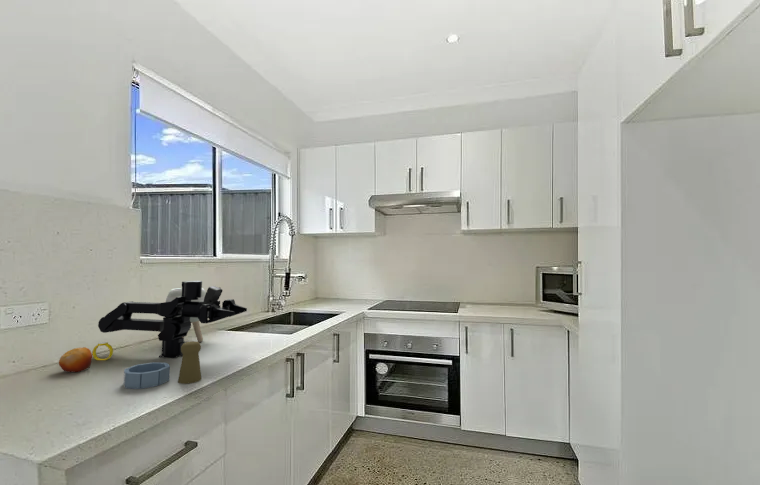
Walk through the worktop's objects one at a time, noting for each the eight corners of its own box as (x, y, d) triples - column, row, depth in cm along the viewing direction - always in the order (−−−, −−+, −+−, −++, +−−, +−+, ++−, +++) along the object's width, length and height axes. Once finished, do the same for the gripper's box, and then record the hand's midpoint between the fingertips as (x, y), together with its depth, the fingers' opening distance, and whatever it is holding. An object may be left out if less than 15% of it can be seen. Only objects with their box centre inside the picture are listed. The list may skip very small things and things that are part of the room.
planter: (175, 338, 159) (177, 287, 160) (213, 338, 160) (214, 287, 161) (155, 347, 143) (157, 290, 144) (196, 347, 144) (198, 290, 145)
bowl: (114, 387, 98) (114, 372, 98) (143, 375, 108) (143, 361, 109) (150, 389, 97) (151, 374, 97) (176, 376, 108) (176, 363, 108)
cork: (191, 384, 101) (192, 344, 102) (172, 382, 102) (174, 343, 103) (205, 377, 107) (207, 340, 108) (188, 376, 108) (189, 339, 109)
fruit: (104, 362, 116) (91, 343, 113) (80, 381, 110) (66, 362, 106) (87, 359, 119) (74, 341, 116) (63, 378, 112) (48, 359, 109)
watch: (90, 362, 123) (90, 344, 123) (96, 359, 125) (96, 342, 126) (109, 360, 123) (108, 343, 123) (114, 358, 126) (114, 341, 126)
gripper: (184, 289, 121) (228, 291, 120) (214, 285, 140) (253, 286, 138) (182, 322, 121) (226, 324, 119) (213, 314, 139) (252, 316, 138)
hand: (240, 311), depth 129 cm, fingers open, 9 cm apart
